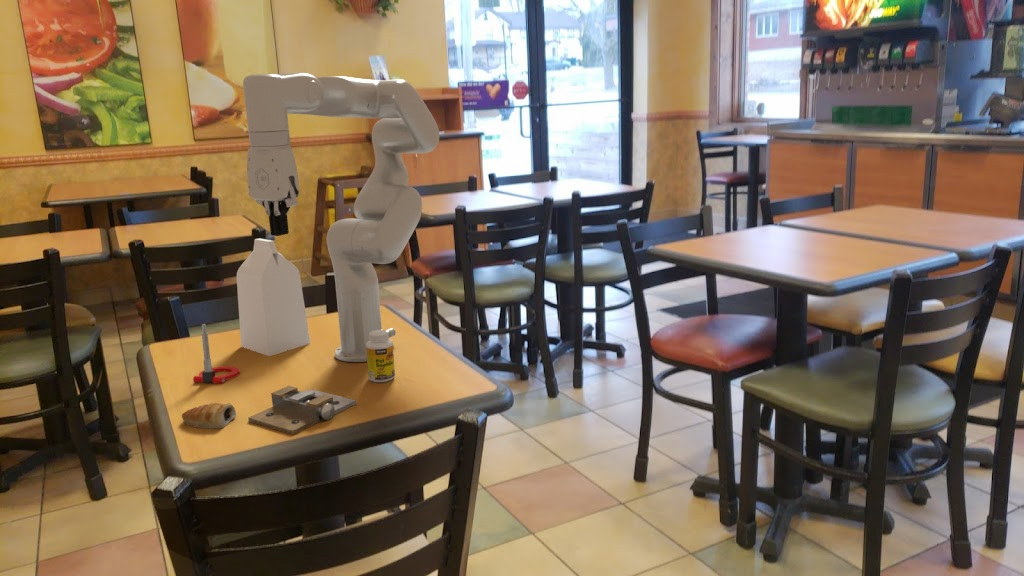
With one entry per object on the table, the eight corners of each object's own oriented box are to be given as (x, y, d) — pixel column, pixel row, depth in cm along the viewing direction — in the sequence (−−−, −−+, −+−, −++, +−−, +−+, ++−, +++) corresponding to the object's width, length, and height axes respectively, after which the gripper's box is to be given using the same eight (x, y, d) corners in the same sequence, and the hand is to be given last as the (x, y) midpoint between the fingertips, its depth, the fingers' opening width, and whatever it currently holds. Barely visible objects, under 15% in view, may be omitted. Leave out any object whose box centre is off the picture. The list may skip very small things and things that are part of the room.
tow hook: (211, 370, 177) (189, 383, 168) (206, 314, 174) (183, 325, 165) (247, 371, 176) (226, 385, 167) (241, 315, 173) (220, 325, 164)
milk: (241, 346, 191) (228, 241, 185) (282, 334, 200) (270, 233, 193) (269, 356, 184) (256, 246, 177) (310, 343, 192) (299, 238, 186)
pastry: (175, 429, 146) (172, 410, 145) (194, 414, 152) (192, 396, 151) (222, 431, 144) (220, 411, 143) (240, 416, 151) (238, 397, 150)
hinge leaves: (312, 393, 160) (311, 376, 159) (356, 404, 154) (354, 386, 153) (248, 421, 147) (246, 403, 146) (293, 434, 141) (290, 416, 140)
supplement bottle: (375, 385, 163) (371, 338, 161) (364, 378, 168) (360, 332, 165) (399, 379, 166) (396, 333, 164) (388, 372, 171) (384, 327, 168)
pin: (287, 403, 155) (286, 389, 154) (335, 416, 148) (333, 401, 147) (275, 408, 153) (274, 394, 152) (323, 422, 146) (322, 407, 145)
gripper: (228, 141, 153) (239, 235, 157) (281, 142, 145) (291, 240, 149) (259, 139, 159) (269, 229, 163) (311, 139, 151) (320, 234, 155)
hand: (279, 234), depth 156 cm, fingers closed
